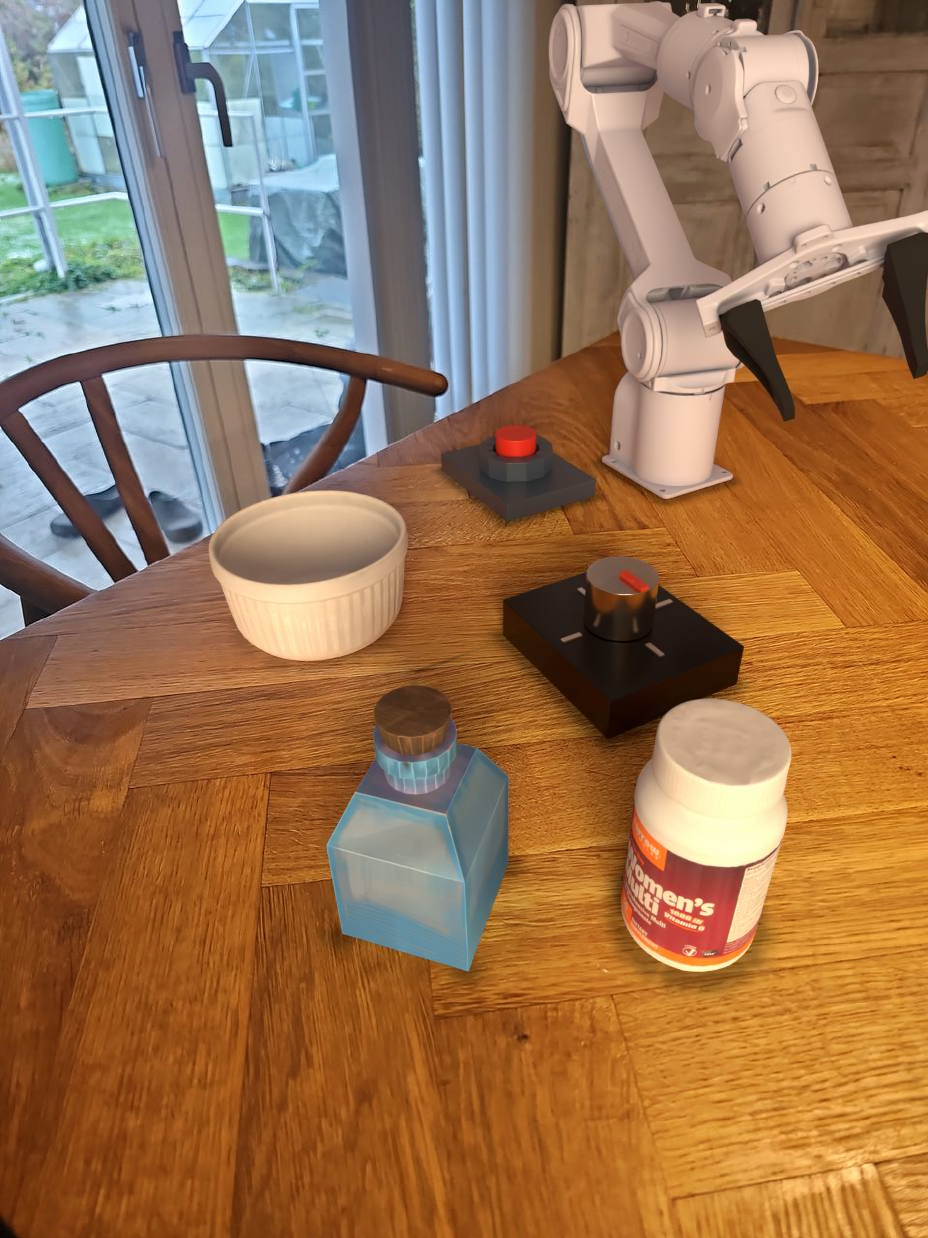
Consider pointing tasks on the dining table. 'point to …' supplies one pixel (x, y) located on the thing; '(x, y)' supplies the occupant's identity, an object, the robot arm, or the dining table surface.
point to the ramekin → (312, 572)
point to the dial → (620, 598)
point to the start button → (515, 441)
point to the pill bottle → (705, 833)
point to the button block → (518, 478)
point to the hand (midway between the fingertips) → (854, 393)
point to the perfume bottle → (421, 835)
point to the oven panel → (620, 656)
